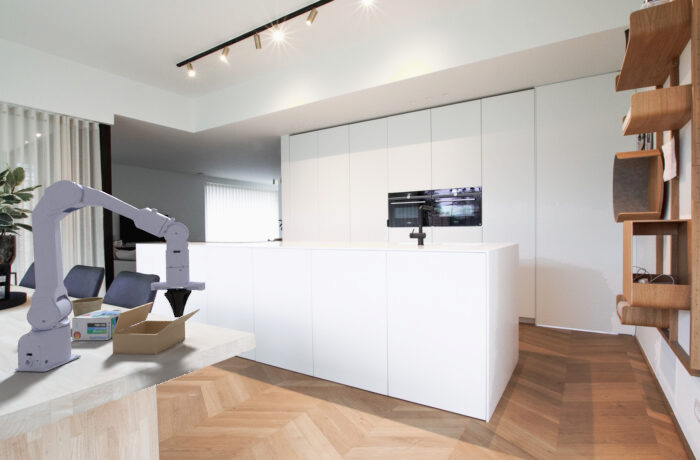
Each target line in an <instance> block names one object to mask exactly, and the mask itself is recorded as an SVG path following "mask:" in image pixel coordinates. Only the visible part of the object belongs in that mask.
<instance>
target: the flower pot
mask: <svg viewBox="0 0 700 460" xmlns="http://www.w3.org/2000/svg"><path fill="white" fill-rule="evenodd" d="M104 300H105V297H102V296H95V297H94V296H93V297H92V296H91V297H84V298H78V299H73V300H71V302H72V304H73V309H72V313H73V318H74V317H77V316H81V315H84V314H87V313H91V312H94V311H97V310H102V305H103V302H104Z"/></svg>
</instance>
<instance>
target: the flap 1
mask: <svg viewBox="0 0 700 460" xmlns="http://www.w3.org/2000/svg"><path fill="white" fill-rule="evenodd" d="M153 304H154V301H151V302H148V303H145V304H143V305H139V306H136V307H132V308H129V309H126V310H127V311H124V312H121V313H120V316H119V318H118V320H117V323H116V325H115V328H114V330H113V333H115V332H117V331H120V330H122V329H125V328H128V327H131V326H134V325H136V324H139V323H141V322H144V321H146V320H147V318H148V317H149V316H148V315H149V313H150V311H151V309H152V306H153Z"/></svg>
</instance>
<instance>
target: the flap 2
mask: <svg viewBox="0 0 700 460" xmlns="http://www.w3.org/2000/svg"><path fill="white" fill-rule="evenodd" d="M200 310H201V309H200V308H198V309H196V310H194V311H192V312H190V313H187V314H185V315H183V316H181V317H177V318H176V319H174V320H171V321H172V322H171V323H170V324H169V325H167V326H166V327H165V328H164V329H163V330H161V331H160V332H159V333H158V334H161V333H163V332H165V331H167V330H169V329H171V328H173V327H175V326H177V325H179V324H181V323H183V322H185V323H186V322H187V321H188V320H190V318H191V317H193V316H194V315H196V314H197V313H199V311H200ZM158 334H157V335H158Z"/></svg>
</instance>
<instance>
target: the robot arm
mask: <svg viewBox="0 0 700 460" xmlns="http://www.w3.org/2000/svg"><path fill="white" fill-rule="evenodd" d="M86 207H102V208H104V209H107V210H109V211H111V212H114V213H117V214H118V215H120V216H124V217H125V218H128V219H130V220H132V221H133V222H134V225H135V227H136V228H138V229H140V230H143V231H145V232H147V233H149V234H151V235H154V236H156V237H158V238H163V237H164V240H165V241H166V243H165V245H166V250H165V277H166V278H165V281H158V282H157V281H155V282H151V283H150V291H165V292H164V293H163V297H165V298H166V300H167V301H168V303H169V305H170V308H171V311H172V314H173V317H174V318H180V317H183V316H184V314H185V308H186V305H187V301H188V300H189V299H190V296H191V294H192V292H193V291H205V290H206V281H205V282H204V281H203V282H202V281H200V282H199V281H190V249H189V242H188V238H189V236H190V234H189V233H190V232H189V229H188V227H187V226H186V225H185V224H183V223H182V222H179V221H177V222H176V221H175V220H176V218H174V217H171V218H170V217H168V216H166V215H164V214H162V213H160V212H158V209H156V208H155V207H152V208H149V207H144V208H141V209H139V208H137V207H135V206H134V205H131V204H129V203H127V202H124V201H123V200H121V199H119V198H117V197H115V196H112V195H111V194H108V193H106V192H104V191H102V190H99V189H95V188H93V187H90V186H86V185H83V184H78V183H77V182H74V181H72V180H68V179H63V180H57V181H55V182H54V183H52V184H51V185H48V186H47V187H46V188H44V190H43V195H42V196H41V198H40V199H39V200H38V202H37V204H36V205H35V207H34V208H33V210H32V211H31V230H32V245H33V249H32V250H33V262H34V264H33V265H34V277H35V278H34V280H35V290H34V291H33V293H32V295H31V298H30V301H31V302H30V307H29V309H28V311H27V313H26V320H27V323H28V324H29V325H30V326H31V329H30V331H29V332H27V333H25V334H23V335H22V336H20V338H19V339H18V341H17V366H18V367H16V368H15V369H14V371H15V372H16V371H17V372H48V371H50V370H53V369H56V368H57V367H60V366H62V365H64V364H67V363H69V362H71V361H74V360H76V359H79V358H80V357H81V354H72V324H71V319H69V317H68V316H70V314H71V313H73V304H72V302H71V301H72V300H71V299H70V297H69V294H68V290H67V288H66V286H65V284H64V271H63V270H64V268H63V252H62V235H61V221H62V220H63V219H65V218H66V217H67V216H68V215H70V214H71V213H73V212H75V211H79V210H81V209H84V208H86Z"/></svg>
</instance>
